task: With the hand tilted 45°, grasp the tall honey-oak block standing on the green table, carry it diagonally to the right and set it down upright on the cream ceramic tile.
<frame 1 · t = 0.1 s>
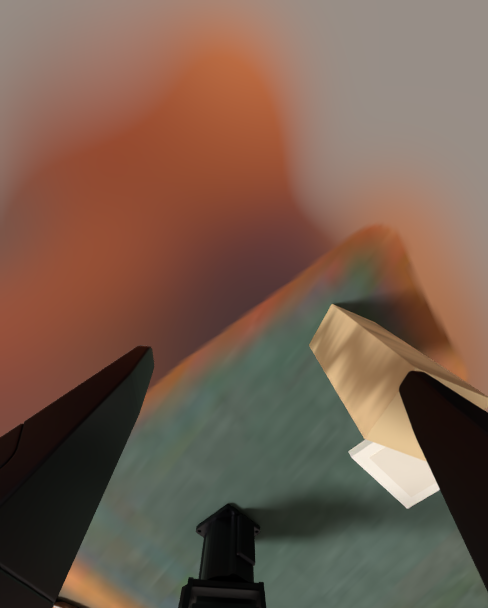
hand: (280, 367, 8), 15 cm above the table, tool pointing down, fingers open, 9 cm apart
oak block: (341, 333, 25), on the table
tile: (417, 451, 29), on the table
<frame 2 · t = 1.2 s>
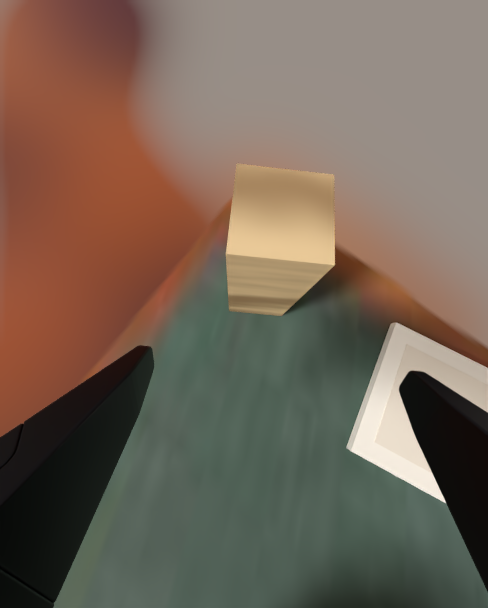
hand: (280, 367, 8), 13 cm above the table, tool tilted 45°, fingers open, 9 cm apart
oak block: (257, 288, 23), on the table
tile: (432, 414, 21), on the table
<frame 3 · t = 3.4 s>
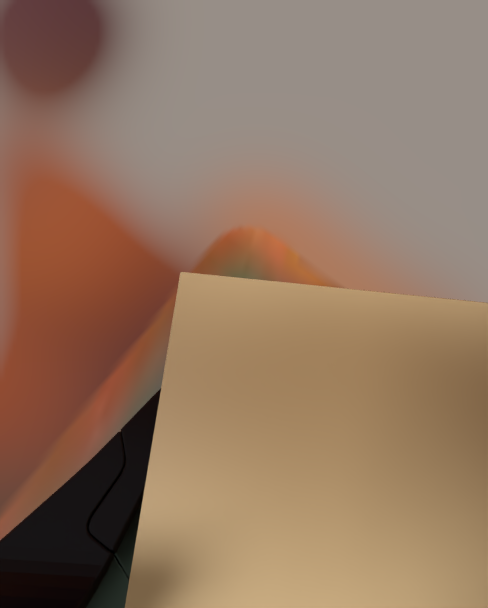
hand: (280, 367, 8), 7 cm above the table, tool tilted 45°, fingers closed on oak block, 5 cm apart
oak block: (257, 389, 14), on the table, touching gripper
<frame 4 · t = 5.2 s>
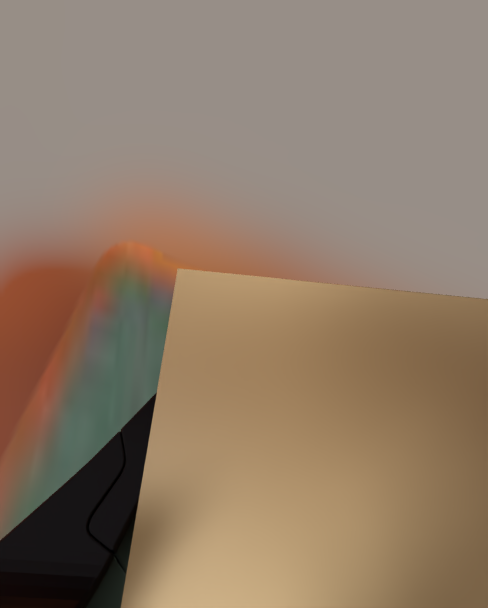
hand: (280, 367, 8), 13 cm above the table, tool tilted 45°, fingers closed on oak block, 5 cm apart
oak block: (256, 388, 14), point 7 cm above the table, touching gripper
when the fingers open (9 cm above the table, at t = 7.0 s): oak block drops 1 cm, resting on tile.
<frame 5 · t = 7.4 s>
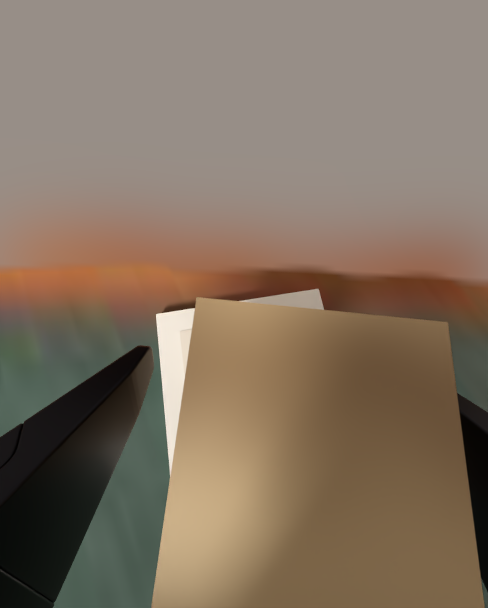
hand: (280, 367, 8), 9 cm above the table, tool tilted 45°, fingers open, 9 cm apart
oak block: (255, 385, 16), point 1 cm above the table, touching tile
tile: (253, 385, 16), on the table
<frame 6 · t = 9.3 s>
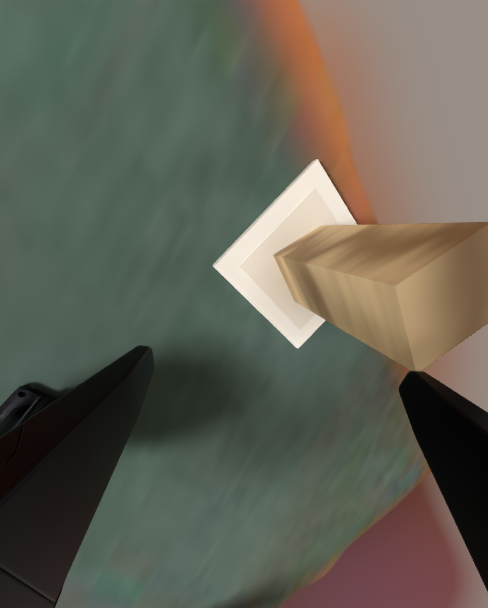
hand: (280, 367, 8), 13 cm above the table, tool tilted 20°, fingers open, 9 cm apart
oak block: (307, 265, 21), point 1 cm above the table, touching tile
tile: (301, 264, 22), on the table
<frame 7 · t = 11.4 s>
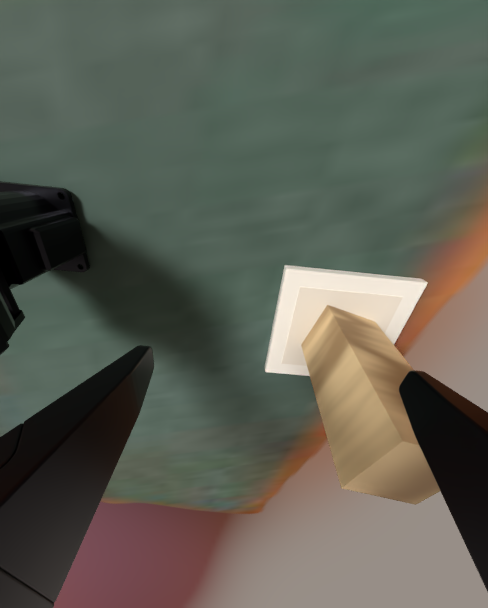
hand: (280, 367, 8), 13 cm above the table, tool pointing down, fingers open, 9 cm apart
oak block: (336, 333, 22), point 1 cm above the table, touching tile
tile: (333, 328, 23), on the table
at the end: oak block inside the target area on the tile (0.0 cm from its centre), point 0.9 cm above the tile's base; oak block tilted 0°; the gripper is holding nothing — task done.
